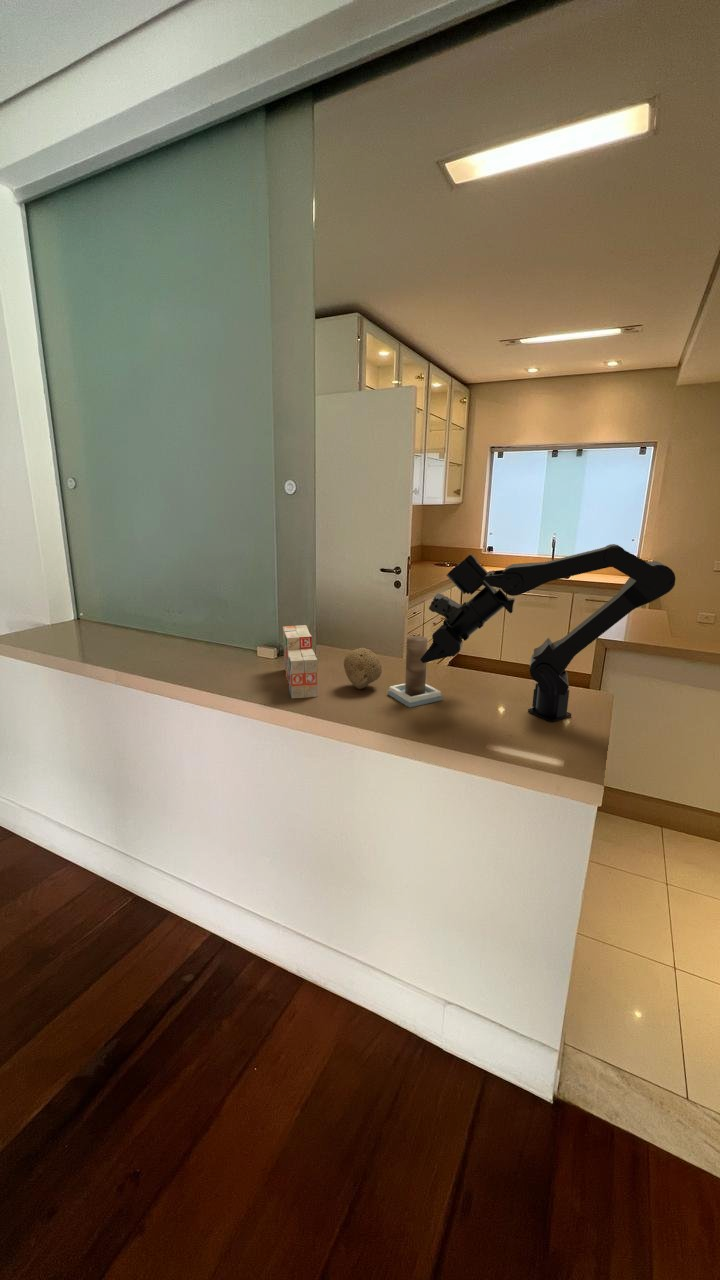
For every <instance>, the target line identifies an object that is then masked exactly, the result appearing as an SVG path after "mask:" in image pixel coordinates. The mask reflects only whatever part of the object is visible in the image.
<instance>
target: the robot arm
mask: <svg viewBox="0 0 720 1280" xmlns="http://www.w3.org/2000/svg"><path fill="white" fill-rule="evenodd" d="M607 568H614V569H616V570H617V571H619V572H620V573H622V574H623V575H625V576H627V577H628V579H627V580H626V582H625V583H624V584H623V586H622V587H621V589H619V592H617V593H616V594H615V595H613V597H612V598H610V599H609V600H607V601H606V602H605V603H604V604H603V605H602V606H600V607H599V608H598V609H596V611H594V612H593V613H592V614H590V615H589V616H588V617H587V618H586V619H584V620H583V621H582V622H581V623H579V624H578V625H577V626H576V627H575V628H573V629H572V630H571V631H570V632H568V633H567V634H566V635H565V636H564V637H562V638H560V639H558V640H556V641H554V642H553V641H552V640H551V638H550V637H547V638H546V640H544V642H543V643H542V644H541V645H540V646H537V647H535V648H533V654H532V655H531V657H530V661H529V675H530V677H531V678H532V680H533V681H535V682H536V683H535V685H534V686H535V688H534V689H533V693H532V694H533V696H532V704H531V705H532V707H531V708H530V707H529V708H528V709H527V712H528V713H530V714H532V715H533V716H537V717H539V718H541V719H543V720H545V721H548V722H550V723H554V722H556V721H561V720H563V718H564V719H566V717H567V718H569V716H570V717H572V715H573V714H572V713H571V712H569V711H568V705H569V697H570V686H569V677H568V672H567V671H566V669H567V667H568V666H569V665H570V663H571V661H572V660H573V659H574V657H576V655H577V654H579V653H581V652H582V651H583V650H584V649H586V647H588V646H589V645H590V644H592V643H593V642H594V641H596V640H597V639H598V638H599V637H600V636H602V635H603V634H604V633H606V632H607V631H608V630H609V629H610V628H612V627H613V626H615V625H616V624H617V623H618V622H620V621H621V620H622V619H623V618H625V617H626V616H627V615H629V614H630V613H631V612H632V611H634V610H635V609H637V608H640V607H643V606H645V605H648V604H650V603H652V602H654V601H656V600H657V599H659V598H661V597H663V596H665V595H667V594H668V593H670V592H671V591H672V590H673V589H674V587H675V585H676V580H677V579H676V575H675V574H676V573H675V572H674V571H673V570H672V568H670V567H669V566H667V565H665V564H664V563H662V562H660V561H655V560H653V561H652V560H651V561H650V560H649V561H648V560H647V561H646V560H644V559H643V558H640V557H639V556H637V555H634V554H633V553H631V552H629V551H627V550H625V548H623V547H621V545H618V544H617V543H616V544H615V543H614V544H613V543H612V544H608V545H606V546H604V547H600V548H597V549H592V550H587V551H584V552H581V553H577V554H572V555H568V556H564V557H560V558H557V559H552V560H548V561H543V562H523V563H513V564H510V565H507V567H505V568H504V569H498V570H495V569H494V570H489V571H487V569H485V568H484V567H483V565H481V563H480V562H479V561H478V559H477V558H476V556H474V555H473V553H470V554H469V555H468V556H466V558H464V559H463V560H462V561H461V562H458V564H456V566H454V567H453V568H452V569H451V570H450V571H449V572H448V573H447V574H446V576H447V578H448V579H449V580H450V581H451V582H452V583H453V584H454V586H455V587H457V589H458V590H459V591H460V592H461V593H462V594H463V595H465V594H467V595H470V596H471V595H473V594H474V593H476V592H477V591H478V590H479V589H480V588H481V587H482V586H484V587H483V588H482V589H481V590H480V591H479V592H477V593H476V594H475V595H474V596H473V597H472V598H471V599H470V600H467V601H464V602H463V603H462V604H461V603H458V602H456V601H455V600H453V599H451V598H449V597H447V596H445V595H444V594H442V593H439V592H438V593H436V595H434V597H433V599H432V601H431V602H430V605H429V607H428V609H429V611H431V613H432V612H433V613H436V614H438V615H440V616H442V617H444V620H443V622H442V624H441V625H440V626H439V627H438V628H437V629H436V630H435V631H434V632H433V634H432V636H431V638H432V644H431V645H430V646H429V647H428V648H427V651H426V653H425V654H424V655H423V657H422V658H421V659H420V660H421V661H422V663H426V662H427V663H430V662H433V661H436V660H439V659H445V658H451V657H455V656H456V655H457V654H458V653H460V652H461V651H462V648H463V641H465V642H466V641H467V640H468V639H469V638H470V636H471V635H472V634H474V633H475V632H476V631H477V630H478V629H479V630H480V629H481V628H482V627H484V625H485V623H487V622H488V621H489V620H490V619H492V618H493V616H495V615H497V614H498V612H500V611H501V610H502V609H503V608H504V609H505V610H506V612H508V613H509V614H512V613H513V612H514V604H515V600H516V599H515V598H514V597H515V596H520V595H522V594H525V593H527V592H530V591H533V590H534V589H535V588H538V587H540V586H542V585H544V584H546V583H549V582H552V581H557V580H561V579H565V578H569V577H573V576H578V575H581V574H586V573H591V572H595V571H598V570H599V571H600V570H603V569H607ZM496 588H497V590H496ZM507 595H508V596H510V597H508V596H507ZM511 596H512V597H511ZM427 663H426V664H427Z"/></svg>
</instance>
